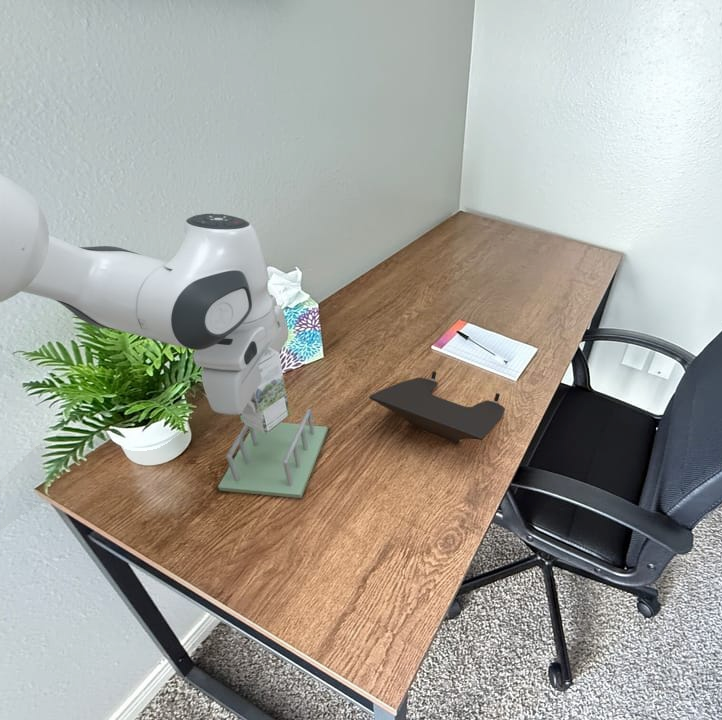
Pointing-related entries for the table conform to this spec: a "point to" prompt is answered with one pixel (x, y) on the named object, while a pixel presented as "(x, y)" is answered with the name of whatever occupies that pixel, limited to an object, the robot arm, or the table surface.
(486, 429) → the laptop tray
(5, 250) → the robot arm
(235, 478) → the drying rack
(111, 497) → the table surface
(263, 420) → the syrup box
